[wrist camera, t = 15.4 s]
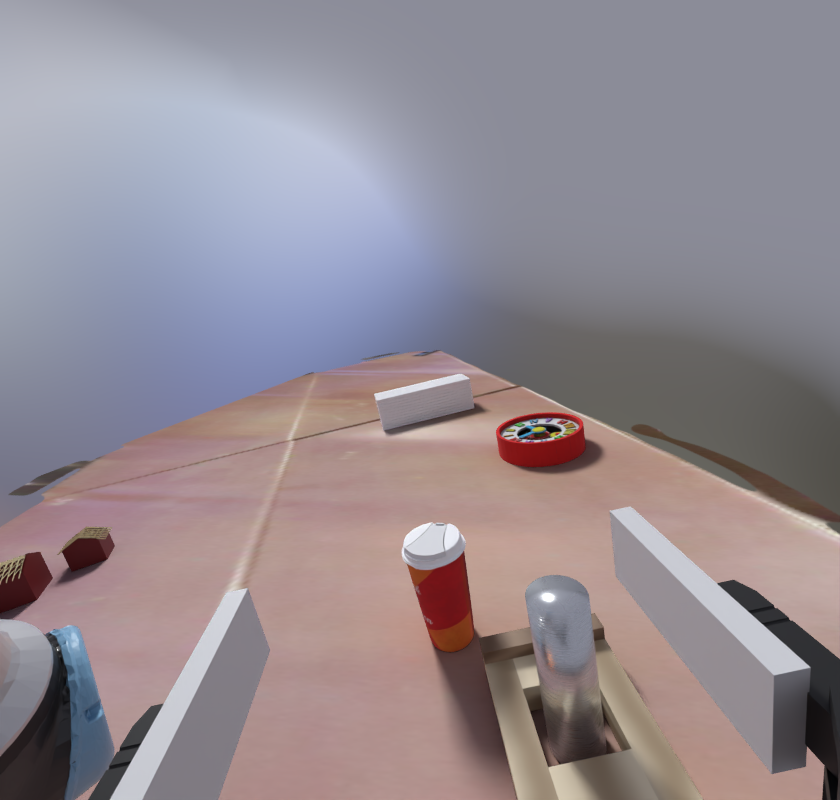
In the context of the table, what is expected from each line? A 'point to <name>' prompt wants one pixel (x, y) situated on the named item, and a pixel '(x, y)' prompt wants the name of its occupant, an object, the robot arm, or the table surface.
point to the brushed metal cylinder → (566, 667)
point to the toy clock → (541, 439)
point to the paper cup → (441, 583)
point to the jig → (594, 777)
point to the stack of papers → (424, 401)
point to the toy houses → (31, 575)
